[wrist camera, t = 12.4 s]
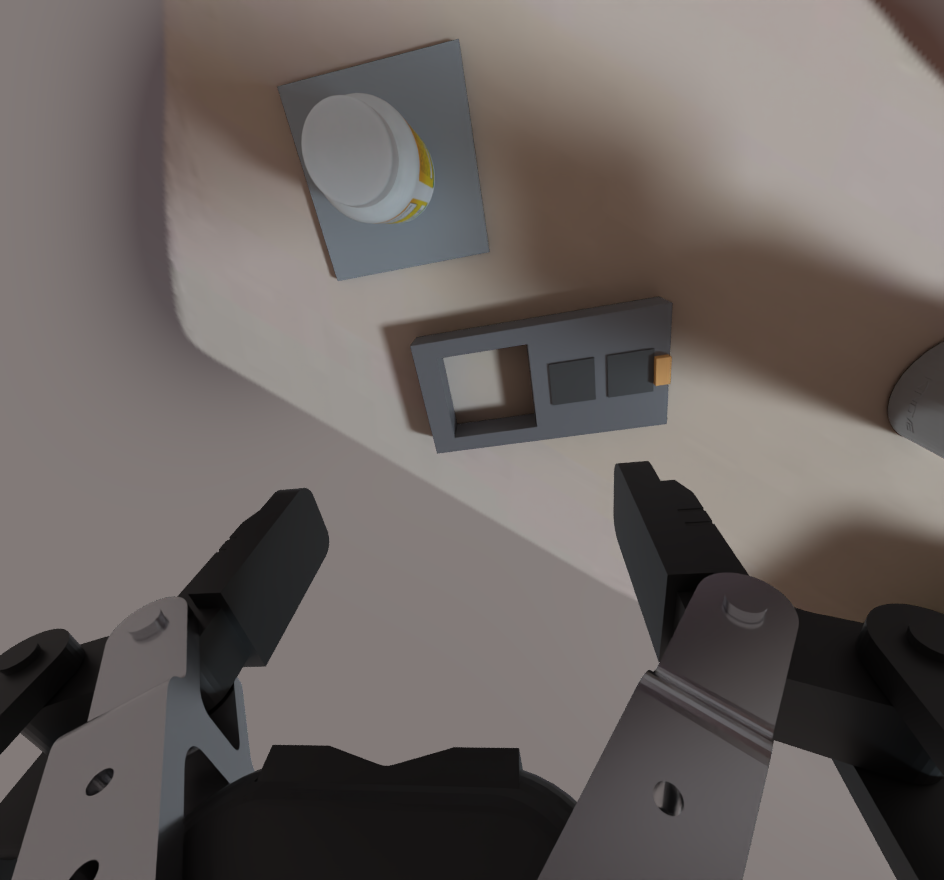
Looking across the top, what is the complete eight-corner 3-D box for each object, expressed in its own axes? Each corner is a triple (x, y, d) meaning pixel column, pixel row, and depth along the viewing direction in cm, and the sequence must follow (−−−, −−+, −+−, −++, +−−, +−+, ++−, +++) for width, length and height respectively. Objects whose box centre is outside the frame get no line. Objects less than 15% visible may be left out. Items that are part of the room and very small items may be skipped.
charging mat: (459, 42, 23) (458, 38, 23) (489, 251, 28) (489, 251, 28) (281, 89, 25) (277, 86, 24) (340, 280, 30) (337, 281, 29)
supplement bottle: (417, 238, 28) (382, 246, 19) (342, 198, 27) (271, 188, 18) (450, 151, 25) (427, 117, 17) (369, 104, 24) (301, 43, 16)
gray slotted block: (659, 296, 29) (676, 304, 26) (655, 410, 33) (669, 427, 31) (416, 337, 32) (408, 348, 29) (440, 439, 36) (436, 457, 33)
